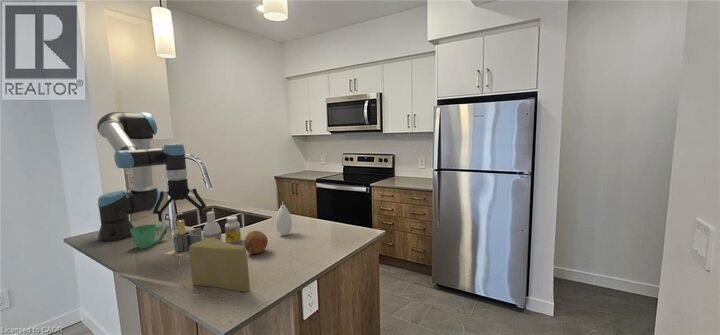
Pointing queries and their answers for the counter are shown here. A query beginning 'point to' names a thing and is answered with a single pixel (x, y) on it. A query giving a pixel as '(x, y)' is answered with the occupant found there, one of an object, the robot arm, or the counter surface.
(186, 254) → the mounting board
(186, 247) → the grey piece
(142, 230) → the mug
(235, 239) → the supplement bottle
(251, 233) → the onion
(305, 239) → the counter surface
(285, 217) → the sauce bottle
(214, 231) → the bath foam
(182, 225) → the hinge pin
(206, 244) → the cheese
